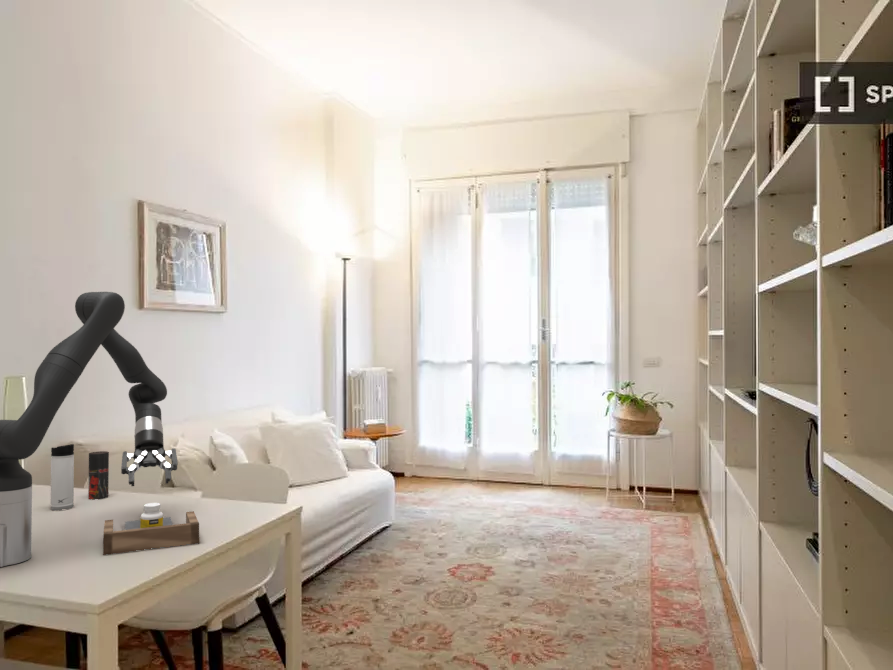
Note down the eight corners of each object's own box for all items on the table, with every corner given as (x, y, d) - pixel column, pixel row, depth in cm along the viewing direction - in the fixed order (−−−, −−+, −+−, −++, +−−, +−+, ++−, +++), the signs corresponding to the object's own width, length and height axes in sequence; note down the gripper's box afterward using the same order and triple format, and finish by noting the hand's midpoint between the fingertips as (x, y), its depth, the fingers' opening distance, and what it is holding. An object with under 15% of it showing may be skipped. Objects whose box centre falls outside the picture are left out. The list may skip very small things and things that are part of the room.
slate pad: (125, 523, 191) (125, 521, 191) (170, 518, 196) (170, 516, 196) (125, 534, 180) (125, 532, 180) (173, 528, 185) (173, 527, 185)
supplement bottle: (148, 546, 169) (148, 507, 169) (135, 543, 172) (135, 505, 172) (167, 541, 174) (167, 503, 174) (154, 538, 176) (154, 501, 177)
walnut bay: (104, 539, 175) (104, 520, 175) (193, 529, 185) (193, 511, 185) (103, 555, 162) (103, 534, 162) (199, 543, 172) (199, 523, 172)
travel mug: (64, 511, 205) (64, 446, 205) (45, 510, 206) (46, 445, 206) (79, 506, 211) (79, 443, 211) (61, 505, 212) (61, 442, 212)
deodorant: (112, 497, 224) (112, 452, 224) (94, 500, 219) (95, 454, 219) (102, 494, 227) (102, 450, 227) (84, 498, 222) (85, 453, 222)
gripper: (121, 429, 186) (121, 477, 176) (176, 426, 193) (179, 473, 182) (121, 445, 191) (121, 493, 181) (174, 442, 197) (177, 488, 187)
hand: (150, 483), depth 181 cm, fingers open, 8 cm apart
